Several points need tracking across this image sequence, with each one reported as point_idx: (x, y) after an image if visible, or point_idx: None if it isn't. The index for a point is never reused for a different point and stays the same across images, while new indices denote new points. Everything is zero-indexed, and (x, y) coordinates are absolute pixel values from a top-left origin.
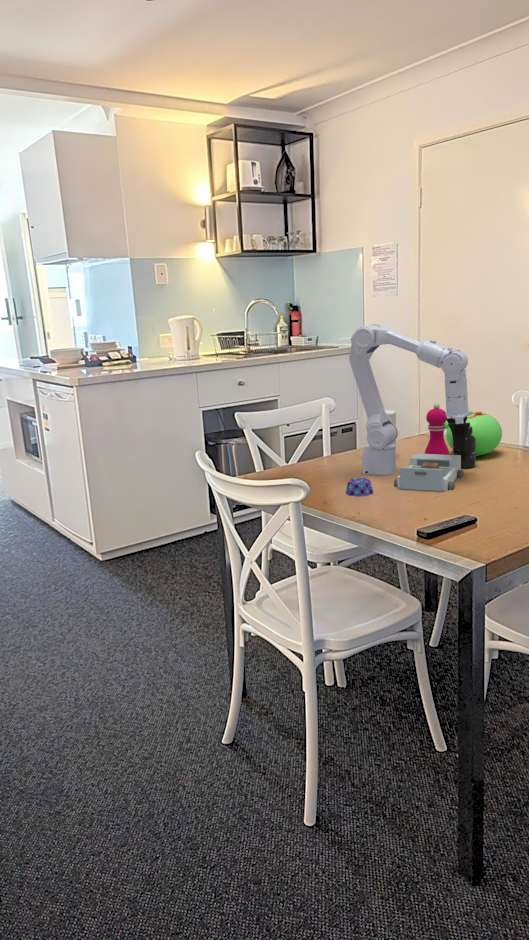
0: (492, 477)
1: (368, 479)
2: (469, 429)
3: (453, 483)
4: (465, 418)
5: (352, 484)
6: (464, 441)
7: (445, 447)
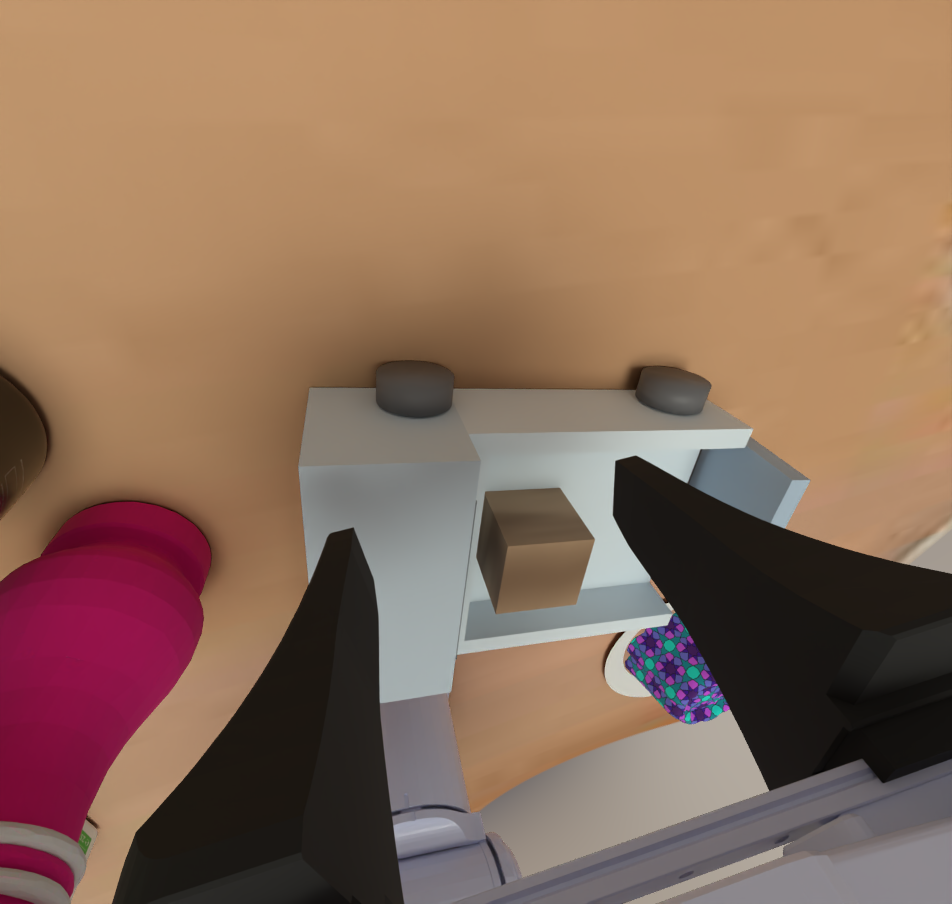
0: (236, 152)
1: (708, 684)
2: None
3: (699, 388)
4: (317, 833)
5: None
6: (692, 491)
7: (77, 630)
